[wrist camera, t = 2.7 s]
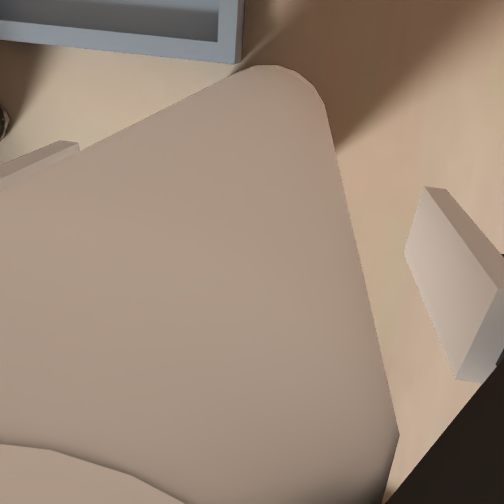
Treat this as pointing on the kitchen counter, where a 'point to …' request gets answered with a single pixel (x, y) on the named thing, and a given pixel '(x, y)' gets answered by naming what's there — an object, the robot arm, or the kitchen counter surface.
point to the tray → (131, 26)
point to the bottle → (192, 314)
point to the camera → (3, 122)
